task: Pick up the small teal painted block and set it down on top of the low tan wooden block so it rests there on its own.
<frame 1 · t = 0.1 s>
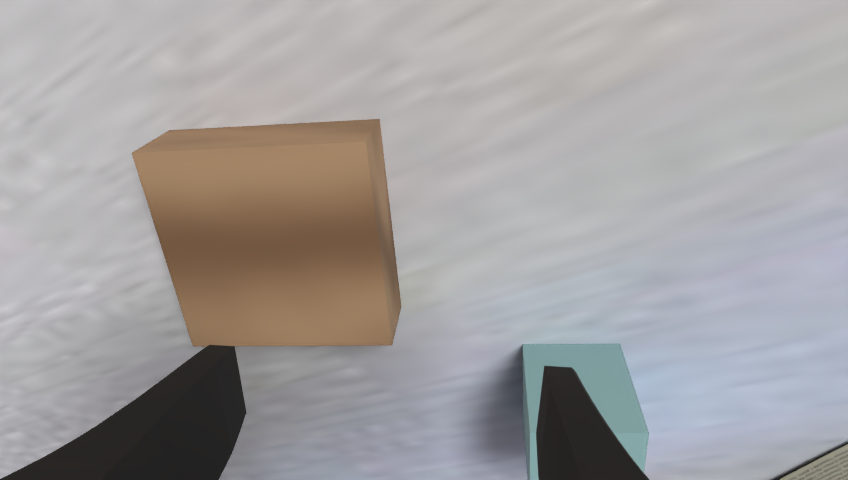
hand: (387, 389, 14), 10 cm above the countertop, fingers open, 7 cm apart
teal block: (569, 380, 26), on the countertop
tan wooden block: (294, 219, 24), on the countertop
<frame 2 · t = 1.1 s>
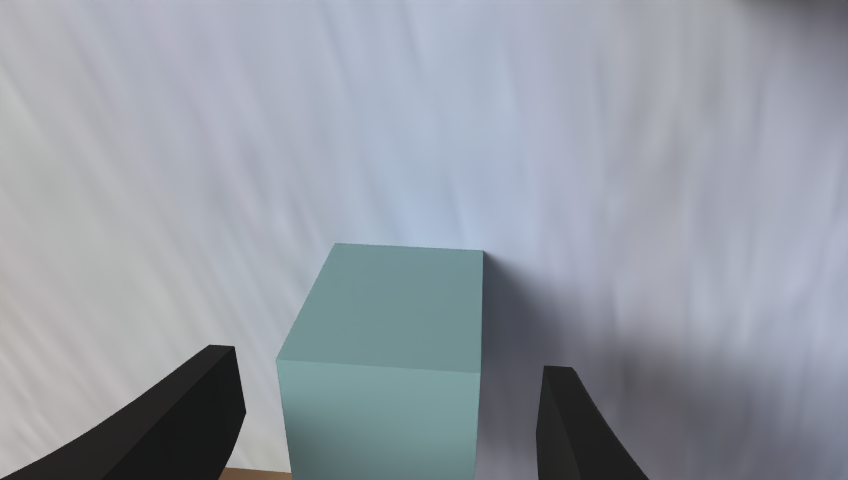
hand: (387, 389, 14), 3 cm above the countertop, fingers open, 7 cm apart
teal block: (408, 308, 17), on the countertop
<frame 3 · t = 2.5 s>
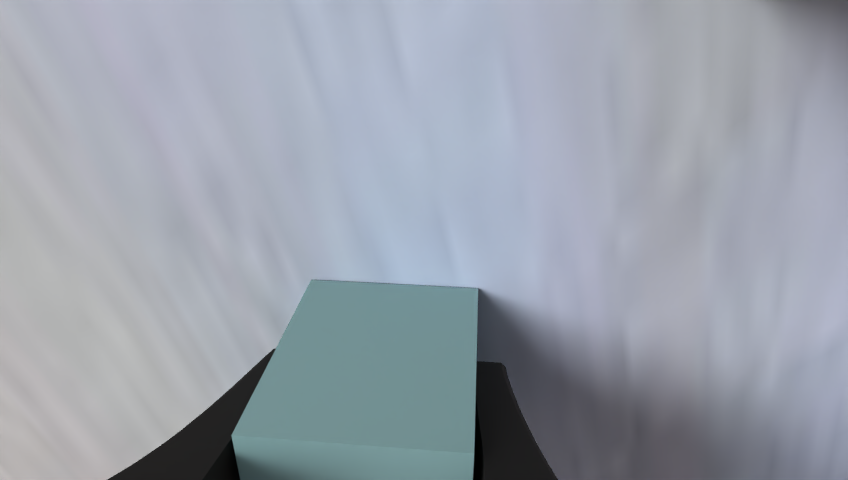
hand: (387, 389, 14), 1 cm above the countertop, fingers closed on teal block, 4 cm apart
teal block: (395, 351, 15), on the countertop, touching gripper
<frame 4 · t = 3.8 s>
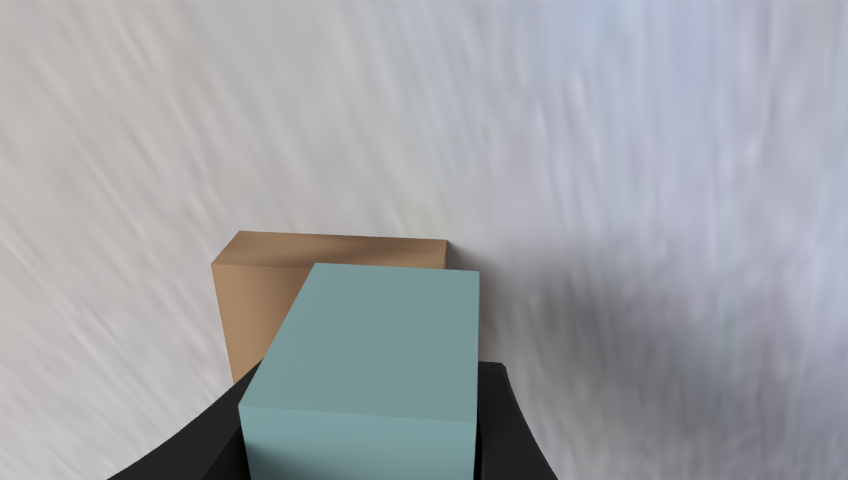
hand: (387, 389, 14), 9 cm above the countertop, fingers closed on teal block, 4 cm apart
teal block: (397, 334, 15), point 7 cm above the countertop, touching gripper
tan wooden block: (349, 317, 24), on the countertop
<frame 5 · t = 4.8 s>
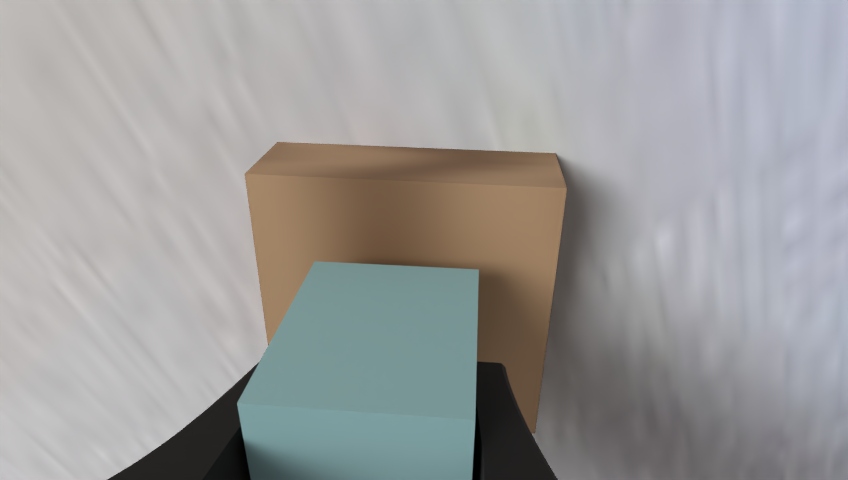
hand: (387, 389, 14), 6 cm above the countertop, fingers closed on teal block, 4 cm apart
teal block: (397, 333, 15), point 4 cm above the countertop, touching gripper
tan wooden block: (414, 263, 19), on the countertop
when the fingers open (6 cm above the countertop, at t = 5.5 s): teal block drops 1 cm, resting on tan wooden block.
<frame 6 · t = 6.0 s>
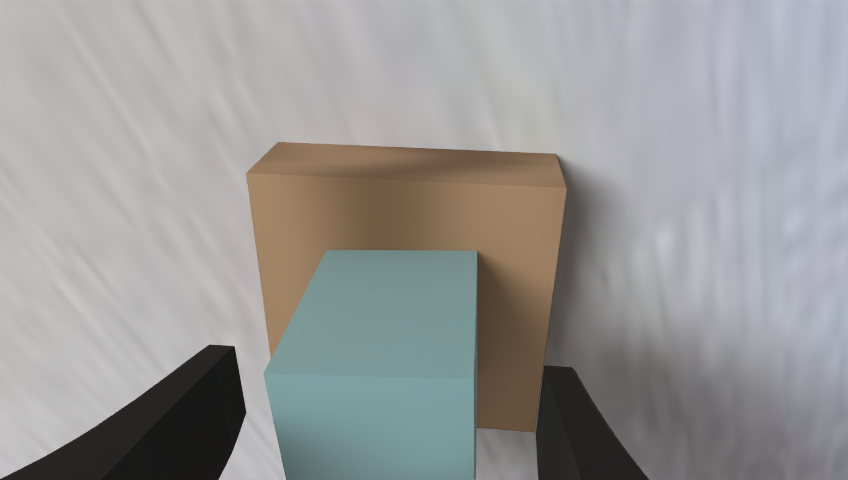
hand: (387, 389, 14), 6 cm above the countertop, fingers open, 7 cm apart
teal block: (405, 313, 16), point 3 cm above the countertop, touching tan wooden block
tan wooden block: (415, 262, 19), on the countertop, touching teal block
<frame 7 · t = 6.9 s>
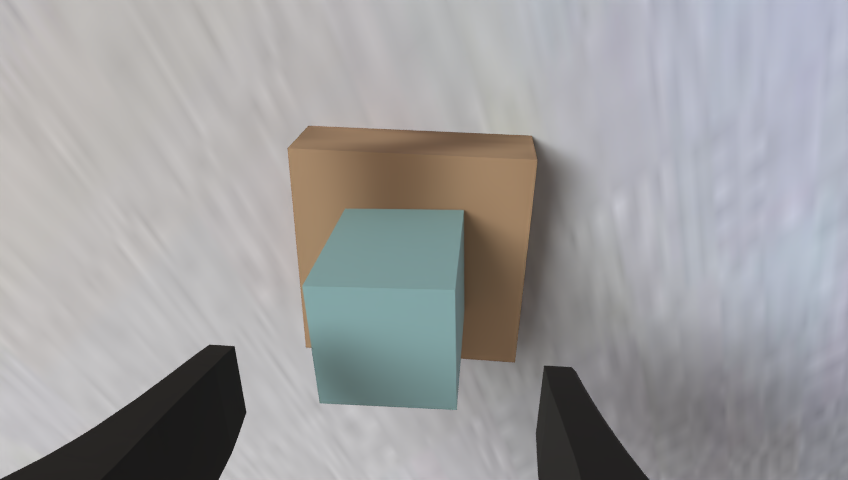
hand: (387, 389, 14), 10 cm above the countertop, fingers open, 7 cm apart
teal block: (406, 261, 20), point 3 cm above the countertop, touching tan wooden block
tan wooden block: (418, 226, 23), on the countertop, touching teal block
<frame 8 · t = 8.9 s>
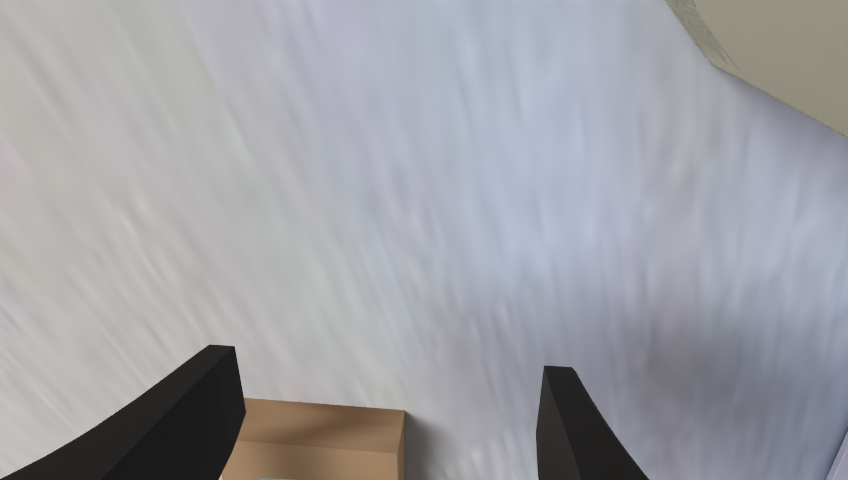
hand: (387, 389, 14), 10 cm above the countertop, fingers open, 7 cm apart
tan wooden block: (327, 458, 30), on the countertop, touching teal block
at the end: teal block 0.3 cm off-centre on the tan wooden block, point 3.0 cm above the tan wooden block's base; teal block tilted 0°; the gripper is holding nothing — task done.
